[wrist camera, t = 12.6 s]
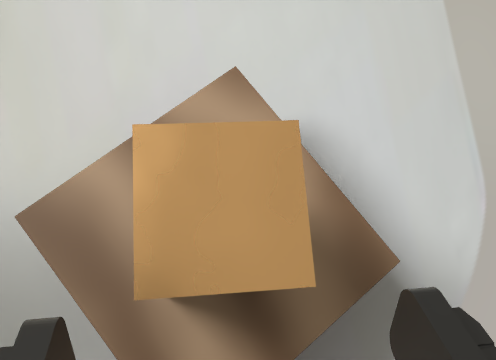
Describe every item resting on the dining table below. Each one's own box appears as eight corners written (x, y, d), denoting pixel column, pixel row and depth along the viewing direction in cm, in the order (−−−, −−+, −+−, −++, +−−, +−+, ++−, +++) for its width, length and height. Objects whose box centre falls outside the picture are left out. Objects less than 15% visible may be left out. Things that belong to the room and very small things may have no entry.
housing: (264, 287, 22) (315, 286, 12) (163, 294, 21) (133, 300, 12) (256, 190, 23) (298, 120, 13) (161, 195, 22) (132, 124, 13)
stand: (189, 425, 24) (187, 457, 20) (47, 229, 26) (14, 216, 21) (366, 265, 28) (400, 261, 23) (229, 101, 29) (235, 66, 25)
